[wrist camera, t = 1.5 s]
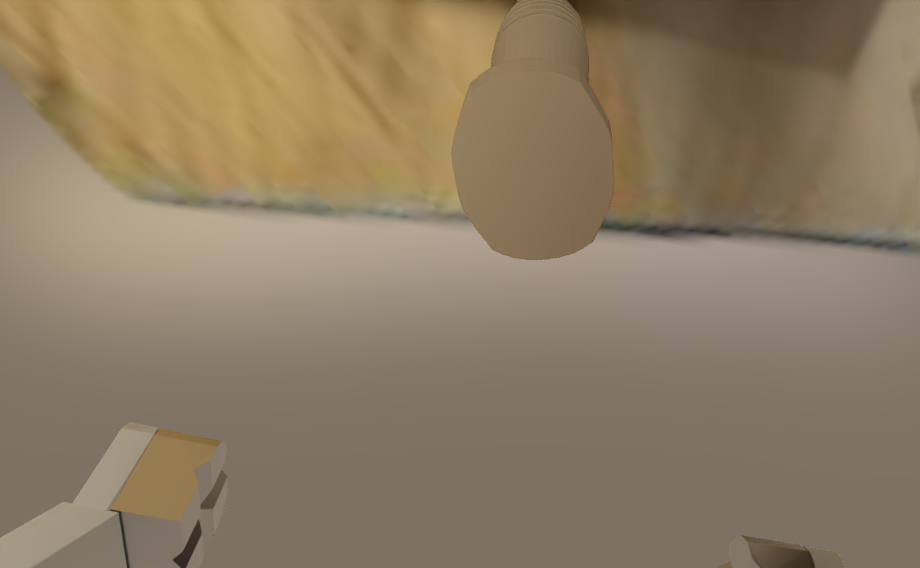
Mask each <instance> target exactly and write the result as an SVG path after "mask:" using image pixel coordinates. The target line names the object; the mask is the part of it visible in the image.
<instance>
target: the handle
mask: <svg viewBox="0 0 920 568" xmlns="http://www.w3.org/2000/svg"><path fill="white" fill-rule="evenodd" d="M588 72H589V55H588V47H587V40H586V36H585V32H584V28H583V25H582V22H581V19H580V16H579V14H578V11H577V10H576V9H575V8H573V6H572V5H571V4H570V3H569V2H568V1H567V0H517V3H516V4H515V5H514V6H513V7H512V8H511V9H510V10H509V12H508V13H507V15H506V17H505V18H504V20H503V22H502V25H501V27H500V29H499V32H498V34H497V38H496V42H495V46H494V50H493V54H492V62H491V68H490V69H488V70H487V71H485V72H484V73H482V74H481V75H479V76H478V77H477V78H476V79H475V80H473V81H472V82H471V83H470V85H469V88H468V91H467V94H466V97H465V100H464V104H463V107H462V110H461V113H460V117H459V120H458V124H457V127H456V131H455V135H454V140H453V146H452V163H453V170H454V175H455V180H456V186H457V191H458V195H459V199H460V202H461V205H462V208H463V210H464V212H465V213H466V215H467V217H468V218H469V220H470V221H471V223H472V224H473V225H474V227H475V228H476V229H477V231H478V232H479V233H480V235H481V236H482V237H483V238H484V240H485V241H486V242H487V243H488V245H489V246H490V247H491V248H492V250H494V251H496V252H499V253H501V254H503V255H507V256H510V257H513V258H519V259H527V260H538V259H539V260H542V259H551V258H557V257H562V256H565V255H569V254H572V253H575V252H577V251H579V250H580V249H583V248H584V247H586V246H587V245H588V244H590V243H592V242H593V241H594V239H595V237H596V235H597V233H598V231H599V229H600V227H601V225H602V222H603V220H604V218H605V216H606V214H607V212H608V209H609V207H610V204H611V201H612V197H613V194H614V164H613V148H612V136H611V128H610V123H609V120H608V118H607V116H606V114H605V112H604V110H603V108H602V106H601V104H600V103H599V101H598V99H597V97H596V95H595V94H594V92H593V90H592V89H591V87H590V85H589V84H588Z"/></svg>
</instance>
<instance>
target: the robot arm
mask: <svg viewBox="0 0 920 568" xmlns="http://www.w3.org/2000/svg"><path fill="white" fill-rule="evenodd" d="M226 458H227V451H226V443H225V442H223V441H219V440H214V439H209V438H205V437H200V436H195V435H191V434H186V433H181V432H176V431H172V430H166V429H162V428H161V429H160V428H156V427H151V426H146V425H141V424H136V423H131V422H130V423H128V424H127V425H126V426H125V427H124V428H122V429H121V430H120V431H119V433H118V435H117V436H116V438H115V439H114V441H113V442H112V444H111V445H110V447H109V448H108V450H107V451H106V453H105V455H104V456H103V458H102V459H101V461H100V462H99V464H98V465H97V467H96V469H95V470H94V472H93V473H92V474H91V476H90V477H89V479H88V481H87V482H86V484H85V485H84V487H83V488H82V490H81V491H80V493H79V495H78V496H77V497H76V499H75V500H74V502H73V504H71V503H64V502H62V503H61V504H59V505H57V506H55V507H54V508H52V509H51V510H49V511H47V512H45V513H43V514H41V515H40V516H38V517H36V518H35V519H33V520H31V521H29V522H27V523H26V524H24V525H22V526H20V527H19V528H17V529H15V530H13V531H12V532H10V533H8V534H6V535H5V536H3V537H1V538H0V568H200V566H201V564H202V562H203V542H205V541H206V540H208V539H209V538H211V537H212V536H214V534H215V532H216V530H217V527H218V525H219V522H220V520H221V517H222V513H223V510H224V506H225V503H226V497H227V489H228V477H227V475H226V474H225V473H224V472H223V471H222V467H223V465H224V463H225V460H226ZM728 551H729V555H730V561H728V562H727V563H724V564H722V565H720V566H718V568H845V565H844V563H843V560H842V558H841V557H840V556H839V555H838V553H836V552H832V551H826V550H821V549H816V548H810V547H802V546H800V545H796V544H790V543H785V542H779V541H773V540H767V539H761V538H755V537H749V536H743V535H740V536H738V537H736V538H735V539H734V540H733V542H732V543H731V545H730V547H729V548H728Z"/></svg>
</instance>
